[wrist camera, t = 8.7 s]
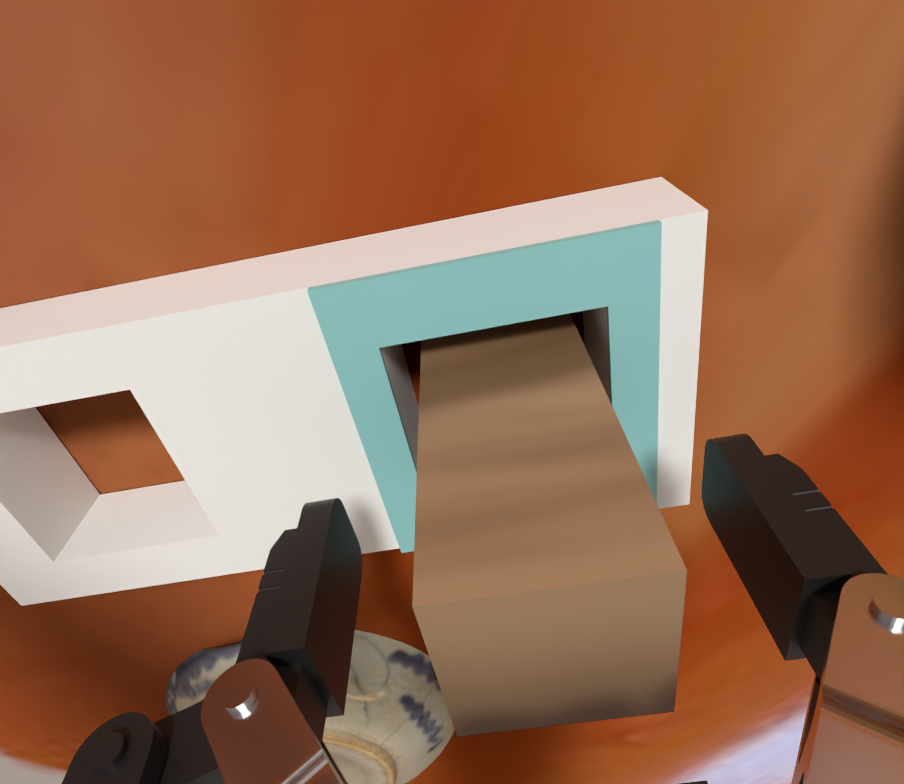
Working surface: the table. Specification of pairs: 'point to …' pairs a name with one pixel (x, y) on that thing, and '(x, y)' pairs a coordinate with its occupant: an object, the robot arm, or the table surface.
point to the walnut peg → (537, 538)
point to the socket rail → (328, 380)
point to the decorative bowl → (357, 708)
